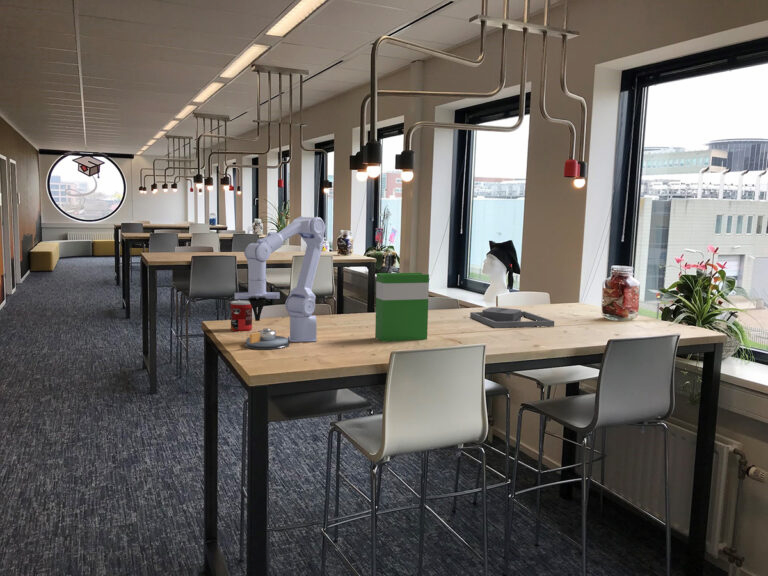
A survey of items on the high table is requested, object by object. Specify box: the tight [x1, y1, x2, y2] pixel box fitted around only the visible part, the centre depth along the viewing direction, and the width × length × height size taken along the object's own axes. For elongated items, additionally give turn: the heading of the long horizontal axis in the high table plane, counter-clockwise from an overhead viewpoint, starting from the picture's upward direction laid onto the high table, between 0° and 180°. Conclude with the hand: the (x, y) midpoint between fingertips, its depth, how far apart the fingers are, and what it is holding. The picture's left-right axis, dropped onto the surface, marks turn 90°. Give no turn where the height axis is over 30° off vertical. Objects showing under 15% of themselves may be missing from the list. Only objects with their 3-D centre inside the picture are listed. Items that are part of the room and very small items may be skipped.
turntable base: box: [244, 341, 290, 351], centre depth 213 cm, size 15×15×1 cm
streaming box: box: [481, 306, 522, 322], centre depth 273 cm, size 14×14×5 cm
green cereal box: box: [374, 272, 430, 342], centre depth 228 cm, size 18×7×24 cm, turn 111°
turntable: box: [245, 331, 289, 347], centre depth 212 cm, size 15×14×4 cm
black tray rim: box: [469, 310, 555, 329], centre depth 273 cm, size 27×27×2 cm
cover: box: [257, 327, 277, 341], centre depth 212 cm, size 6×6×4 cm
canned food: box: [230, 300, 253, 332], centre depth 239 cm, size 8×8×11 cm
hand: (257, 320), depth 207 cm, fingers closed
